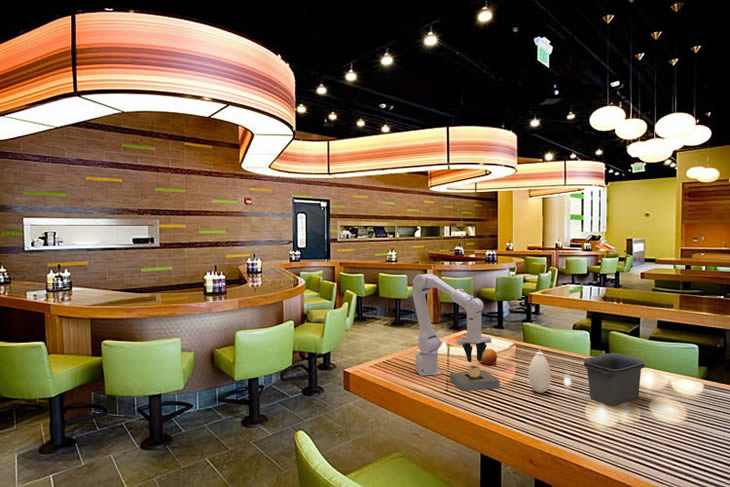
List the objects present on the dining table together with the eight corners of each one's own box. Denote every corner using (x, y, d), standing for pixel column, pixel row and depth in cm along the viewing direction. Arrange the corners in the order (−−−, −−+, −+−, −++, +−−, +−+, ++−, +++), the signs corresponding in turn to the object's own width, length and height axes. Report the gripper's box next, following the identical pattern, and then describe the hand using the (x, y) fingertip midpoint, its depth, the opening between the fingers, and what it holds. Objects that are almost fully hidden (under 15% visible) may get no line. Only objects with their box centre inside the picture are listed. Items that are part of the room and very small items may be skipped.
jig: (462, 391, 153) (462, 383, 153) (449, 380, 165) (449, 373, 165) (499, 387, 156) (499, 380, 156) (484, 377, 168) (484, 370, 168)
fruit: (503, 363, 183) (494, 348, 183) (488, 371, 183) (480, 357, 183) (497, 357, 191) (489, 343, 191) (484, 366, 191) (475, 352, 191)
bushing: (471, 386, 158) (471, 369, 158) (466, 382, 162) (466, 365, 162) (481, 385, 159) (481, 368, 159) (476, 381, 163) (476, 364, 163)
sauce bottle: (553, 396, 147) (553, 349, 147) (531, 395, 149) (531, 348, 149) (547, 388, 155) (547, 343, 155) (526, 387, 156) (527, 342, 156)
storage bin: (614, 411, 135) (614, 370, 135) (573, 395, 149) (573, 357, 149) (650, 399, 144) (650, 361, 144) (608, 385, 158) (608, 350, 158)
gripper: (461, 331, 155) (461, 365, 155) (495, 329, 158) (495, 363, 158) (454, 327, 162) (454, 360, 162) (486, 325, 165) (486, 357, 165)
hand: (474, 361), depth 160 cm, fingers open, 4 cm apart
